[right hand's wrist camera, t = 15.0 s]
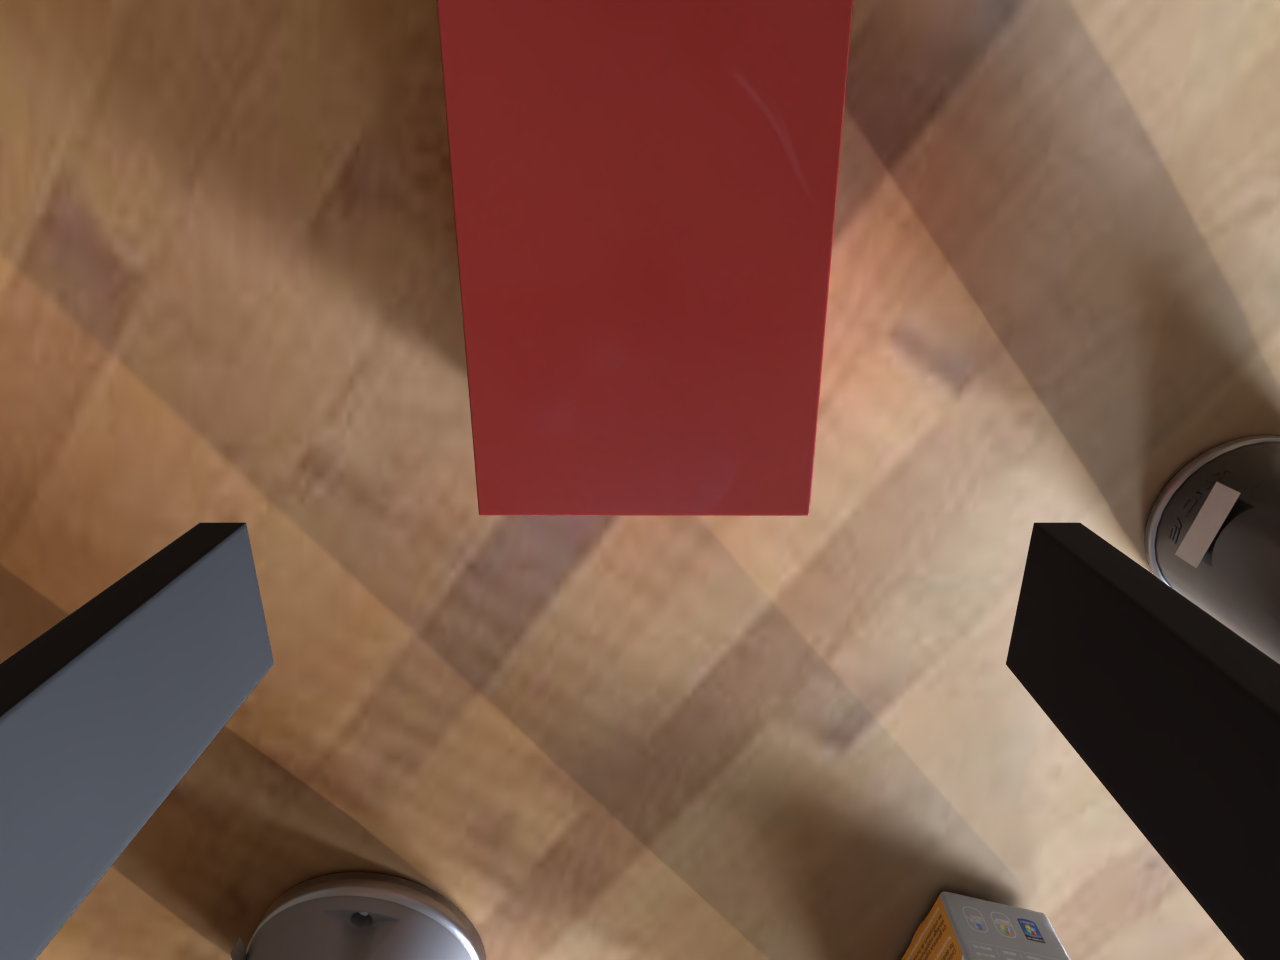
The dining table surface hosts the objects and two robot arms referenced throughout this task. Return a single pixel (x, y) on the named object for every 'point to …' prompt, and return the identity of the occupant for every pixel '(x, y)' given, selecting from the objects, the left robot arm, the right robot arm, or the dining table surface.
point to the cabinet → (644, 247)
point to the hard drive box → (983, 932)
